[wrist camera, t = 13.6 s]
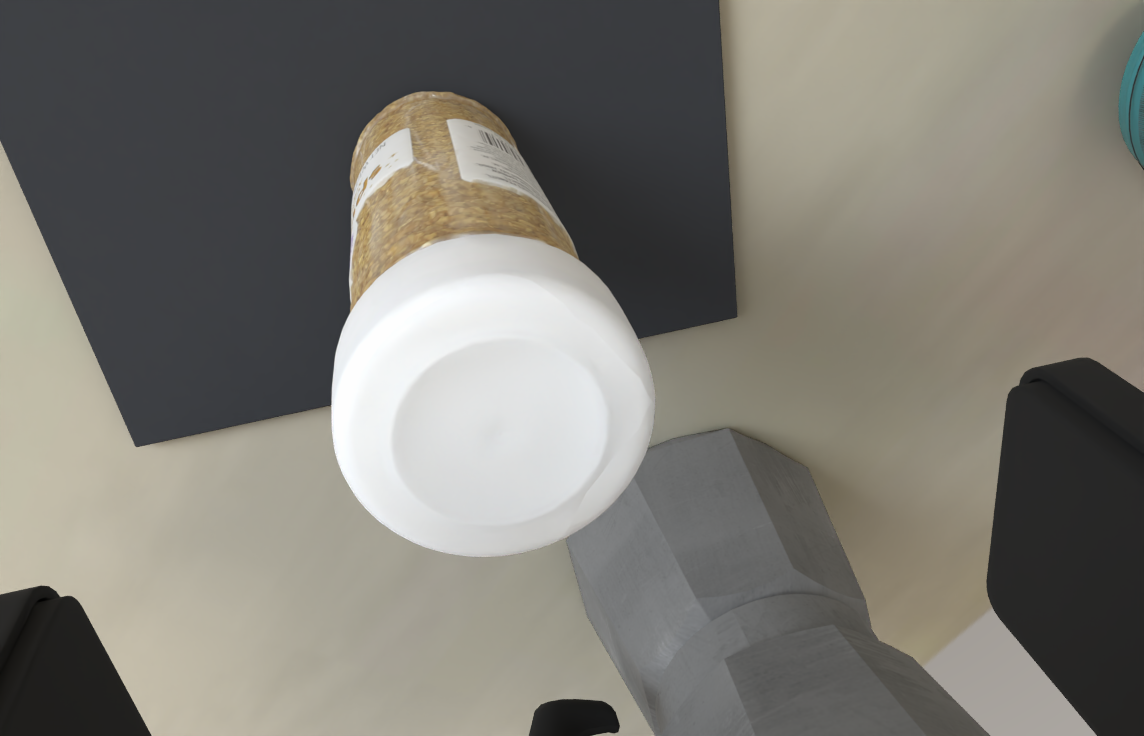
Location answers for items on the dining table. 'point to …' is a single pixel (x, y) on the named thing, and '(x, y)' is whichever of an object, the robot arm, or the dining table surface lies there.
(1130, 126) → the beverage bottle
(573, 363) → the sprinkles bottle
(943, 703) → the coffeepot
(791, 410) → the dining table surface
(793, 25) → the dining table surface
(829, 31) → the dining table surface
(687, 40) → the mat
